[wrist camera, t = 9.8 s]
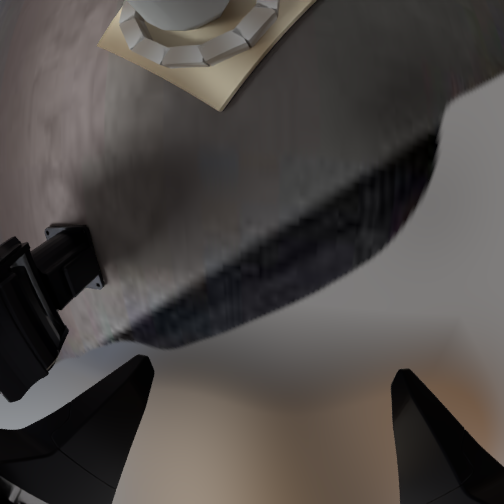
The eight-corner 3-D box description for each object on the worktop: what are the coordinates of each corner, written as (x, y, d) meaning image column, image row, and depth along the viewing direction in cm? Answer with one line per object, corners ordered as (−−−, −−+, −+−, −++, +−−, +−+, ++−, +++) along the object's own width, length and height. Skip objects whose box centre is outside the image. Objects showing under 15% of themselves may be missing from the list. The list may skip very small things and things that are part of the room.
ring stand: (221, 111, 16) (212, 110, 14) (102, 47, 14) (84, 43, 12) (327, -11, 11) (331, -25, 9) (192, -61, 9) (182, -74, 7)
